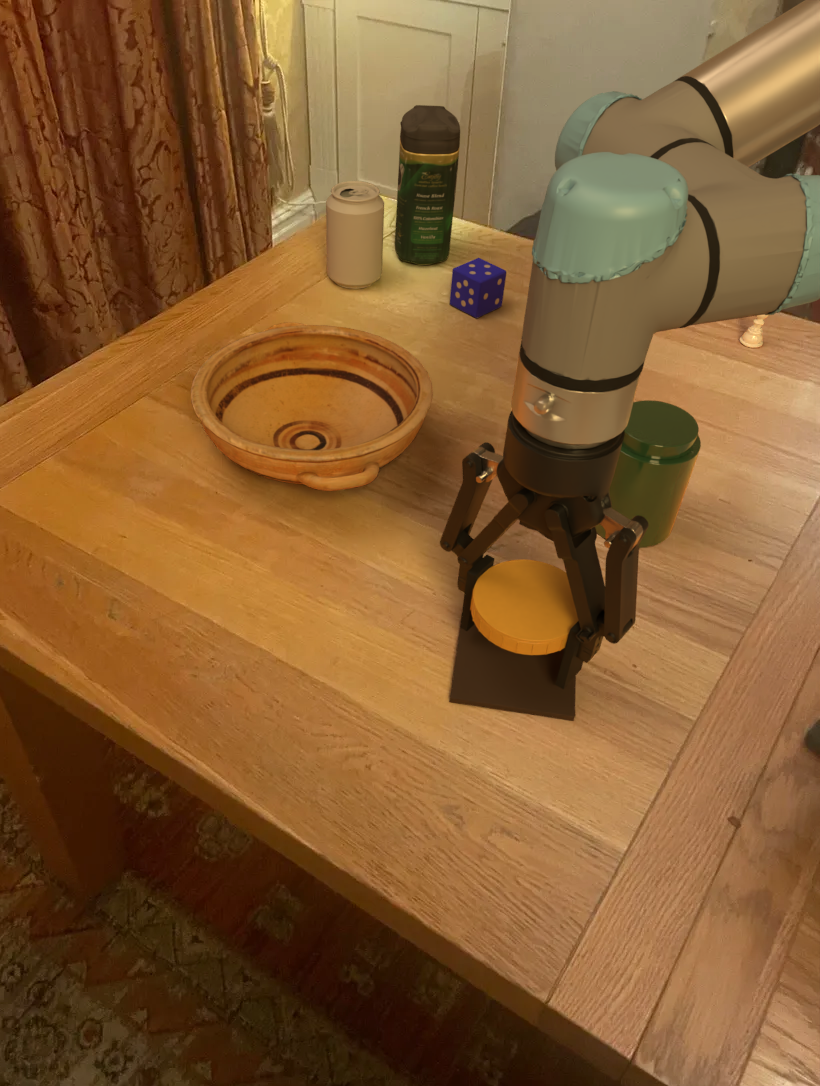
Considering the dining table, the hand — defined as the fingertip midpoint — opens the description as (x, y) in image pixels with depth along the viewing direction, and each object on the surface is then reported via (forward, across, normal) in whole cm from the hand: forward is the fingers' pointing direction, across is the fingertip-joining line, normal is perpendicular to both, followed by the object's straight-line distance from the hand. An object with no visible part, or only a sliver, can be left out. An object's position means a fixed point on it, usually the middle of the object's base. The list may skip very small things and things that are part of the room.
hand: (519, 647), depth 75 cm
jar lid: (-6, 0, 0) cm, 6 cm away
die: (+2, -38, +48) cm, 62 cm away
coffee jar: (+2, -53, +56) cm, 77 cm away
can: (+2, -55, +43) cm, 70 cm away
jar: (+2, -2, +23) cm, 23 cm away
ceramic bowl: (+2, -33, +11) cm, 35 cm away
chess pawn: (+2, -7, +64) cm, 64 cm away
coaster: (+2, 0, 0) cm, 2 cm away
